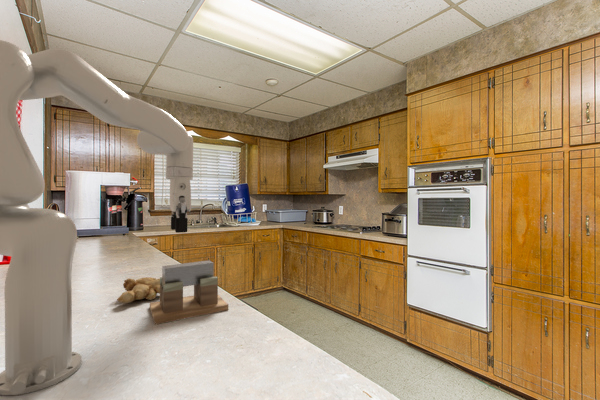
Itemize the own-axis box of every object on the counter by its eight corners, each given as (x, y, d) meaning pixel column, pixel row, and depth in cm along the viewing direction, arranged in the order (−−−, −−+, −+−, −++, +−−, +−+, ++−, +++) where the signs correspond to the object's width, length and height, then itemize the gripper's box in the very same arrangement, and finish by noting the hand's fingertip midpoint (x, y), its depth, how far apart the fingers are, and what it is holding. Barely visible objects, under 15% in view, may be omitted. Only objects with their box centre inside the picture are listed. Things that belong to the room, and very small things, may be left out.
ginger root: (162, 283, 111) (162, 263, 109) (172, 305, 99) (173, 283, 97) (113, 292, 102) (113, 271, 100) (118, 318, 90) (117, 294, 88)
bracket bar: (213, 281, 92) (213, 262, 92) (165, 289, 84) (165, 268, 84) (209, 278, 95) (209, 260, 95) (162, 286, 87) (162, 266, 87)
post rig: (228, 309, 89) (228, 278, 89) (154, 324, 78) (154, 288, 78) (215, 296, 101) (215, 268, 101) (149, 307, 90) (149, 276, 90)
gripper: (198, 172, 84) (197, 233, 84) (187, 177, 99) (186, 228, 99) (169, 171, 80) (168, 234, 80) (163, 175, 95) (162, 229, 95)
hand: (178, 230), depth 89 cm, fingers open, 9 cm apart
